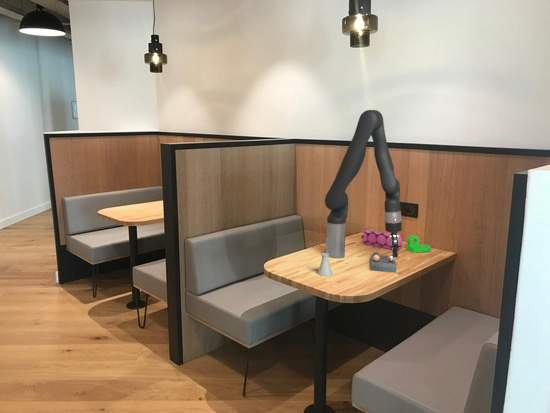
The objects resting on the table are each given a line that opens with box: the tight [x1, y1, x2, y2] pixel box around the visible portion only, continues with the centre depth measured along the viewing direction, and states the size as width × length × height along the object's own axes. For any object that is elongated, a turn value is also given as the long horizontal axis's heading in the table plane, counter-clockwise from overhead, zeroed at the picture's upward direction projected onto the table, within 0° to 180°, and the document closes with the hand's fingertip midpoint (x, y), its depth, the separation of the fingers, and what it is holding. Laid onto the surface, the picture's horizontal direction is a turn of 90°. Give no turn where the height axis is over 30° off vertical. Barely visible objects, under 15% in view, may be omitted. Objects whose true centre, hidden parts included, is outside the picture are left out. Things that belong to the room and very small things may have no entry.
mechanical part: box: [406, 234, 432, 254], centre depth 235 cm, size 12×6×8 cm, turn 108°
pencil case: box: [361, 227, 403, 251], centre depth 240 cm, size 21×10×10 cm, turn 54°
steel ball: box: [387, 254, 395, 261], centre depth 207 cm, size 3×3×3 cm
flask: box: [316, 252, 333, 277], centre depth 193 cm, size 7×7×10 cm
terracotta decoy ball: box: [373, 254, 380, 261], centre depth 206 cm, size 3×3×3 cm
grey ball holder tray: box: [370, 254, 398, 273], centre depth 208 cm, size 11×18×4 cm, turn 169°
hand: (395, 256), depth 205 cm, fingers closed
